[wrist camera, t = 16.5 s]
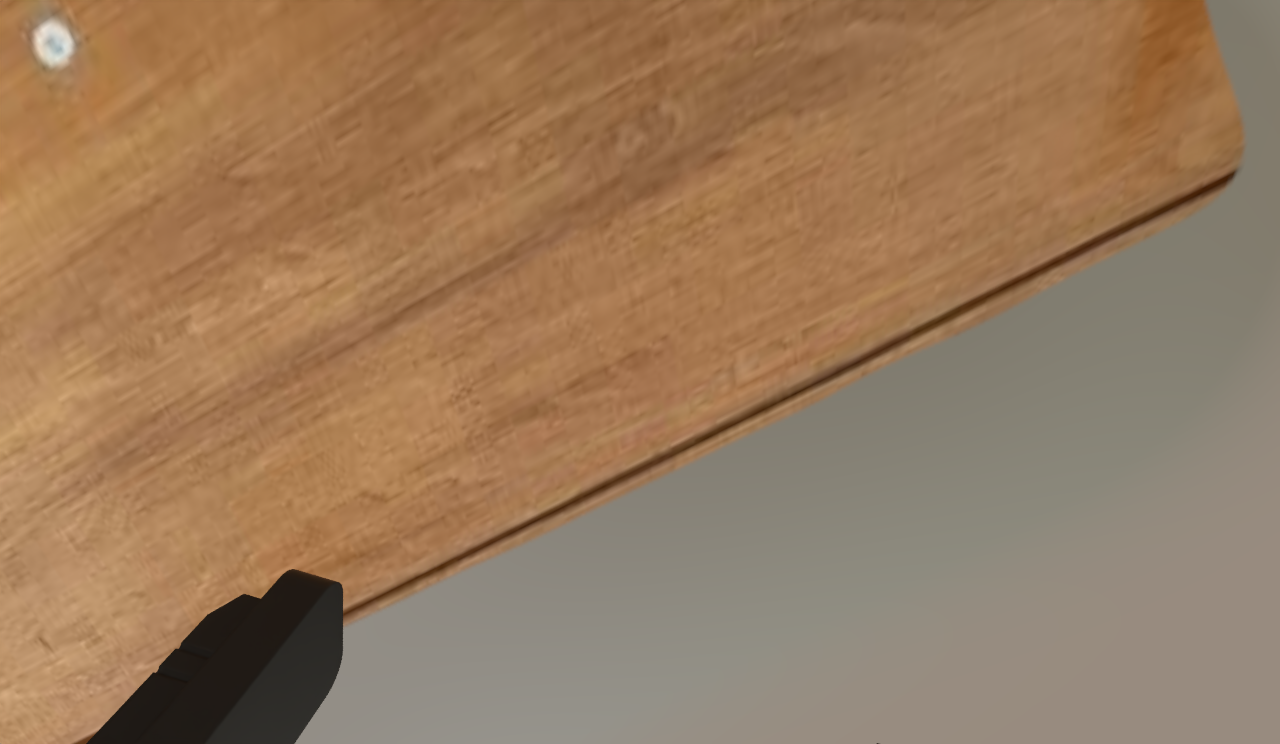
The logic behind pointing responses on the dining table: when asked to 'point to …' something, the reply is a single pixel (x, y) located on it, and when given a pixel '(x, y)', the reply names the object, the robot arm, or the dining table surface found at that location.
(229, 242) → the dining table surface
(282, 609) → the robot arm
